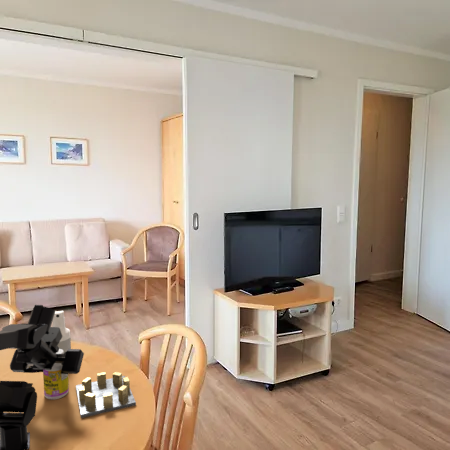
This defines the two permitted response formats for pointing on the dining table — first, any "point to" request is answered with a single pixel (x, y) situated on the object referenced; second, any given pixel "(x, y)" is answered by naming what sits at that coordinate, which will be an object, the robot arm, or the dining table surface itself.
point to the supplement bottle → (55, 381)
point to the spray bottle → (62, 330)
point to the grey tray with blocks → (104, 394)
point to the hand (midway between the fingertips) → (58, 370)
